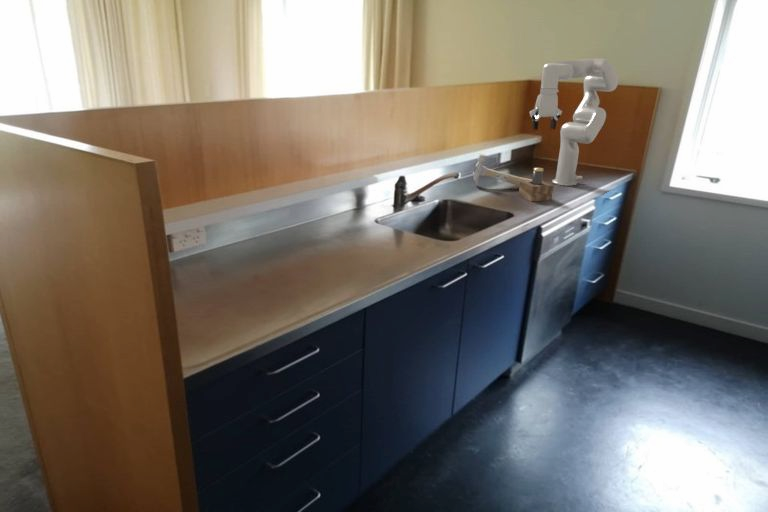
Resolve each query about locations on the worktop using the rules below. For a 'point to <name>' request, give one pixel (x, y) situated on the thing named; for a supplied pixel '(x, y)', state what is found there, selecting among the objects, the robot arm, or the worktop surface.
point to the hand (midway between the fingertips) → (543, 129)
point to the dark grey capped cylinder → (537, 176)
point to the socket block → (535, 191)
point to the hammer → (494, 173)
